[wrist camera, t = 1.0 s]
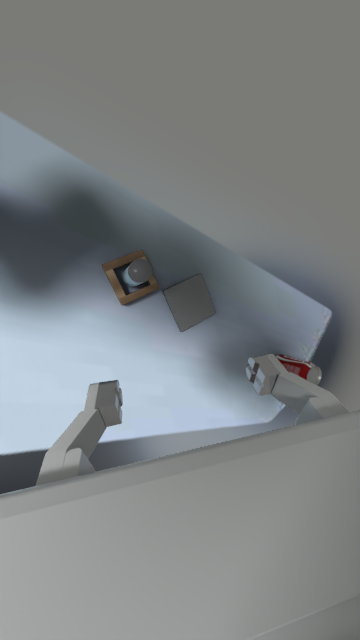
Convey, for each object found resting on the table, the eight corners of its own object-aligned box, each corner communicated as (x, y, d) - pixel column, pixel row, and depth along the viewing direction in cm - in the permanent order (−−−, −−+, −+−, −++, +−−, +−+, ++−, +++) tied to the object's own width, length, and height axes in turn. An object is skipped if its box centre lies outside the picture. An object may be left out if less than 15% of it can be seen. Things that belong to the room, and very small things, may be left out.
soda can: (271, 377, 63) (308, 393, 52) (267, 358, 62) (304, 369, 51) (286, 369, 66) (324, 383, 55) (283, 350, 65) (321, 360, 54)
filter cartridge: (118, 273, 43) (125, 263, 33) (135, 266, 44) (146, 255, 34) (126, 290, 44) (135, 285, 34) (142, 283, 45) (156, 276, 35)
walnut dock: (101, 266, 42) (102, 264, 40) (140, 251, 45) (142, 249, 43) (121, 305, 44) (122, 305, 42) (156, 288, 47) (159, 288, 45)
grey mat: (162, 291, 47) (163, 290, 47) (199, 273, 51) (201, 273, 50) (180, 331, 50) (181, 332, 49) (214, 312, 53) (216, 312, 53)
